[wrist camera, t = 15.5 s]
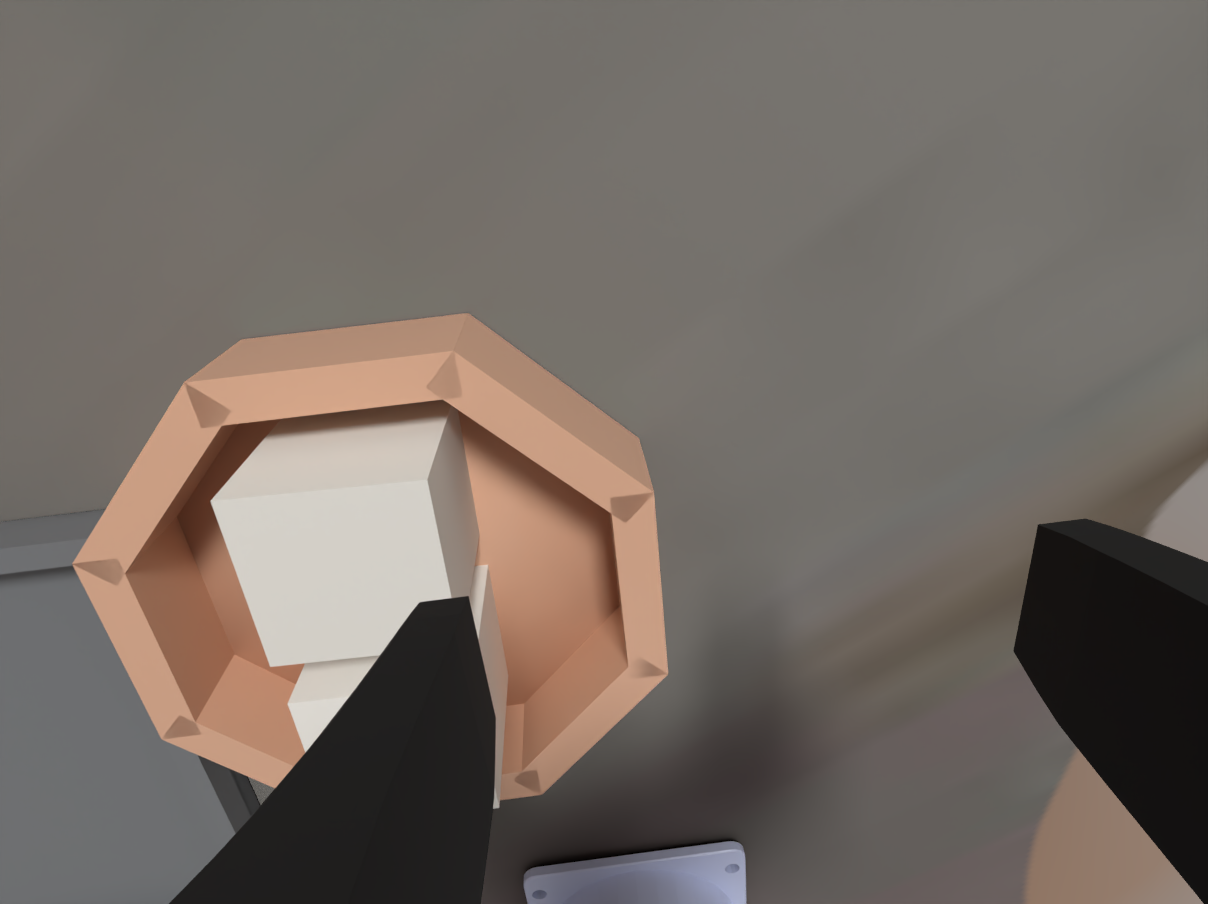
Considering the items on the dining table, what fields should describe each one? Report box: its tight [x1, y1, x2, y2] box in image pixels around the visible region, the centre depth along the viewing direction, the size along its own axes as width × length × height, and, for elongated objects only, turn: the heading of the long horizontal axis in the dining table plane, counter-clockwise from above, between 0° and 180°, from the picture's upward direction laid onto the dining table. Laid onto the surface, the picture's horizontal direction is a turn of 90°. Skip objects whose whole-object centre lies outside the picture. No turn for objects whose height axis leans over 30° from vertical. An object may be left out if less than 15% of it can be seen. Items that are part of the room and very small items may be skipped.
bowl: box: [72, 313, 668, 800], centre depth 18 cm, size 13×13×3 cm
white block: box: [288, 565, 508, 809], centre depth 18 cm, size 4×4×4 cm
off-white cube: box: [210, 399, 480, 667], centre depth 16 cm, size 4×4×4 cm
